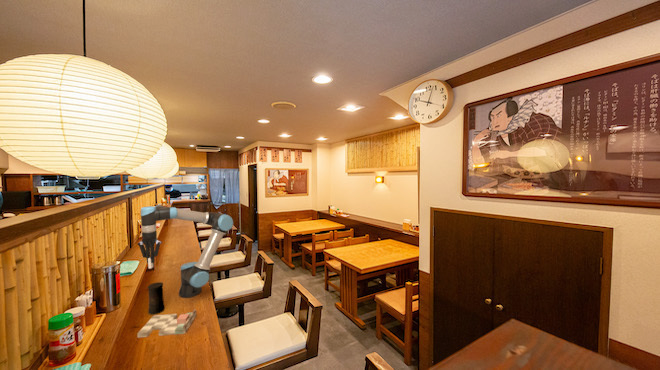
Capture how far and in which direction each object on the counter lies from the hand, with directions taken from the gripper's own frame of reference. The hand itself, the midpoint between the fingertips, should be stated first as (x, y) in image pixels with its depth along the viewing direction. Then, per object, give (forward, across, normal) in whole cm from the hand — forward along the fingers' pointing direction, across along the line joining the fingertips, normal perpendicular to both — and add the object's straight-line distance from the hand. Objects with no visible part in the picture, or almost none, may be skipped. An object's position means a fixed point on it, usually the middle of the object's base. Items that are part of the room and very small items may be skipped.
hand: (150, 267), depth 157 cm
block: (+30, +23, -12) cm, 40 cm away
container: (+33, -1, +6) cm, 33 cm away
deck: (+32, +14, -12) cm, 37 cm away
